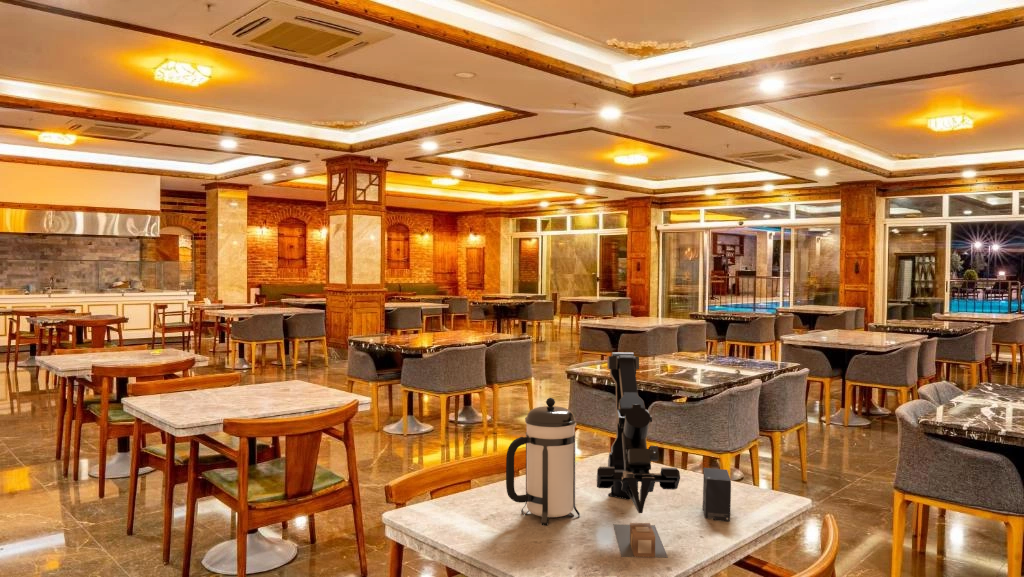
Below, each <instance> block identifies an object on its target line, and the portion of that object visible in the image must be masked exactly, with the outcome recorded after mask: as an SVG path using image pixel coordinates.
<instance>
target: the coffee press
mask: <svg viewBox="0 0 1024 577" xmlns="http://www.w3.org/2000/svg"><path fill="white" fill-rule="evenodd" d="M545 404H546V405H547V406H545V405H544V406H537V407H534V408H531V409H530V410H529V411H528V413H527V416H525V418H524V422H525V424H526V432H525V436H519V437H516V439H514V440H513V441H512V442H511V443H510V444H509V446H508V448H507V452H506V458H505V469H506V470H505V487H506V488H505V489H506V494H507V495H508V497H509V499H510V500H512V501H514V502H515V503H523V504H524V506H523V508H521V510H520V511H521V512H520V513H521V515H524V514H525V515H527V514H528V513H531V514H532V515H534V516H535V515H536V516H539V517H541V526H546V527H547V526H548V524H549V519H550V518H559V517H564V516H567V515H570V516H571V517H572V518H574V517H575V514H574V513H573V510H574V511H575V513H576V515H577V516H578V517H577V518H578V519H579V518H580V516H581V513H580V512H579V510H578V509H577V506H576V432H575V427H577V418H576V417H575V415H574V413H573V412H572V411H571V410H570V409H568V408H567V407H563V406H555V404H556V400H555V399H554V398H553V397H548V398H547V399H546V401H545ZM522 445H525V494H520V495H519V494H517V492H516V490H515V455H516V451H517V450H518V448H519V447H521V446H522ZM524 508H527V510H528V511H526V512H525V511H524Z"/></svg>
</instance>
